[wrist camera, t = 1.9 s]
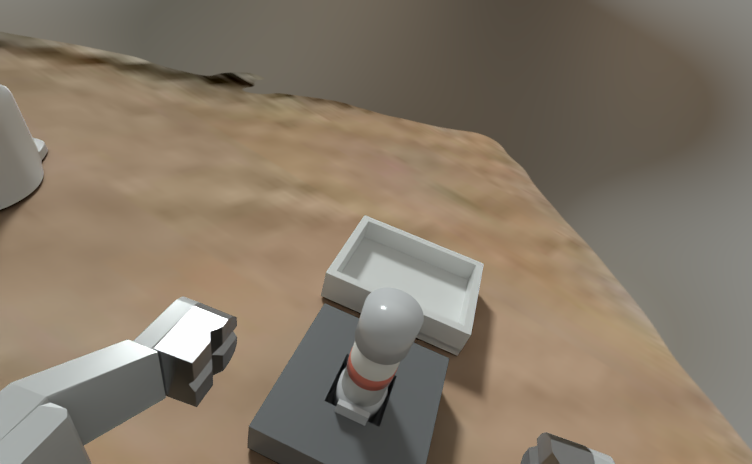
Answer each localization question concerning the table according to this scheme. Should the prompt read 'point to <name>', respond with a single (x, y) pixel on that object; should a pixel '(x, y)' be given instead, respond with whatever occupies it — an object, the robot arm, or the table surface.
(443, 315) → the tray
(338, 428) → the fuse holder
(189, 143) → the table surface
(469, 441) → the table surface
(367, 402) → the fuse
